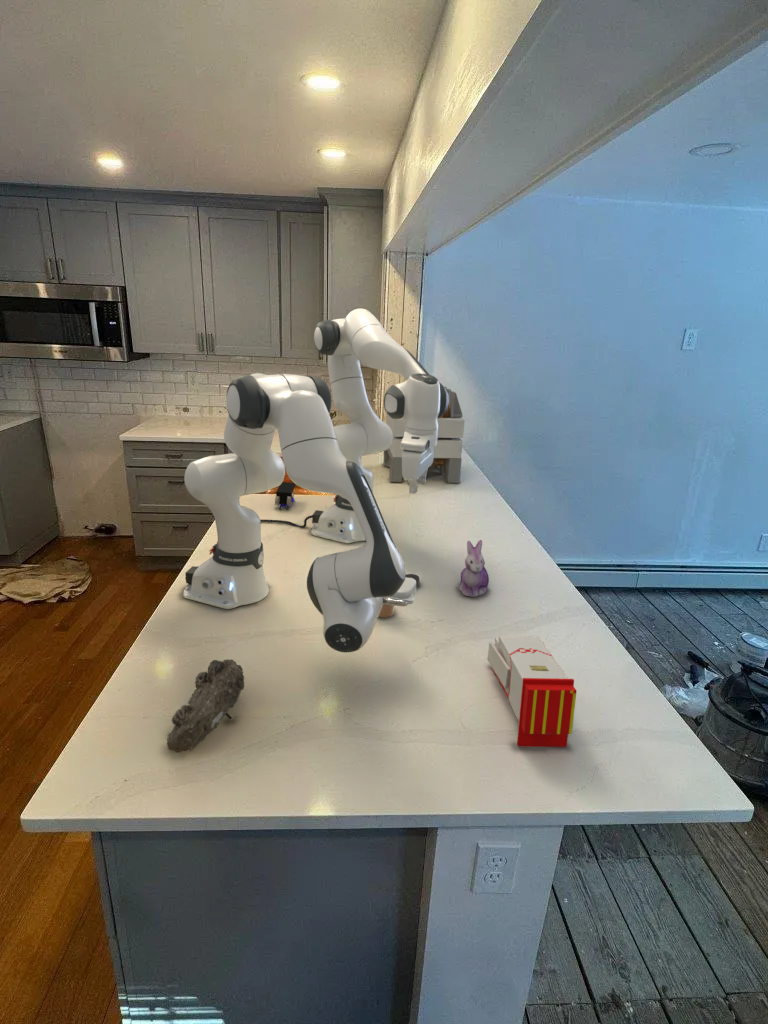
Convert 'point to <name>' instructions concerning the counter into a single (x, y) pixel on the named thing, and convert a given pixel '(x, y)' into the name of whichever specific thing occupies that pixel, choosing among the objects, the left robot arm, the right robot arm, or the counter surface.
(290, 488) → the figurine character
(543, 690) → the toy
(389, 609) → the bottle
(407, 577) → the cap
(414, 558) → the counter surface
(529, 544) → the counter surface
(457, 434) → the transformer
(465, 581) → the figurine
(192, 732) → the fossil
